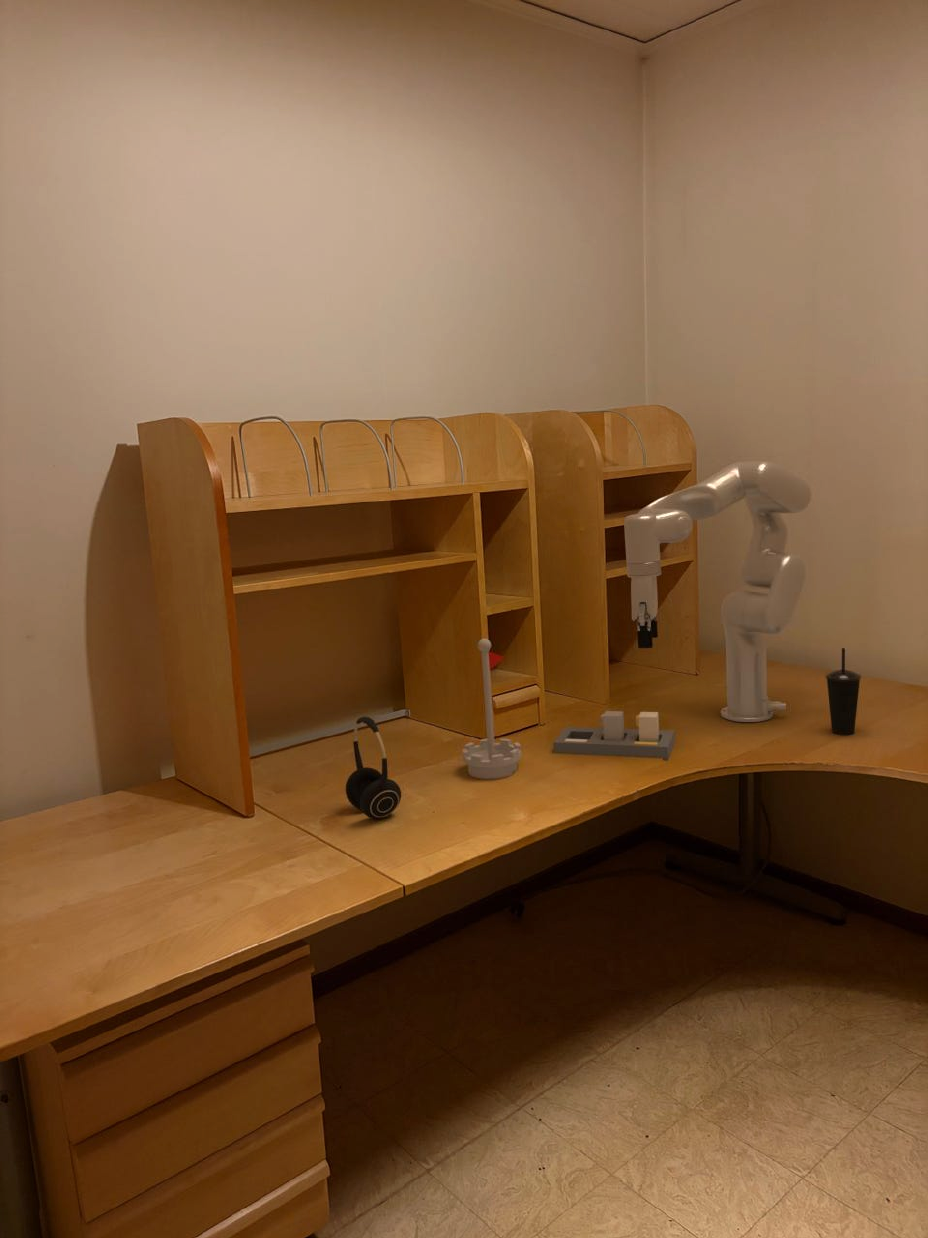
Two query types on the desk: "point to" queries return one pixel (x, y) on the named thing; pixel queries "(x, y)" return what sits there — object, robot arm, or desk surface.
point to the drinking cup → (843, 698)
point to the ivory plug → (648, 726)
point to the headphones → (372, 782)
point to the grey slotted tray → (612, 740)
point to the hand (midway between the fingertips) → (648, 642)
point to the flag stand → (490, 733)
